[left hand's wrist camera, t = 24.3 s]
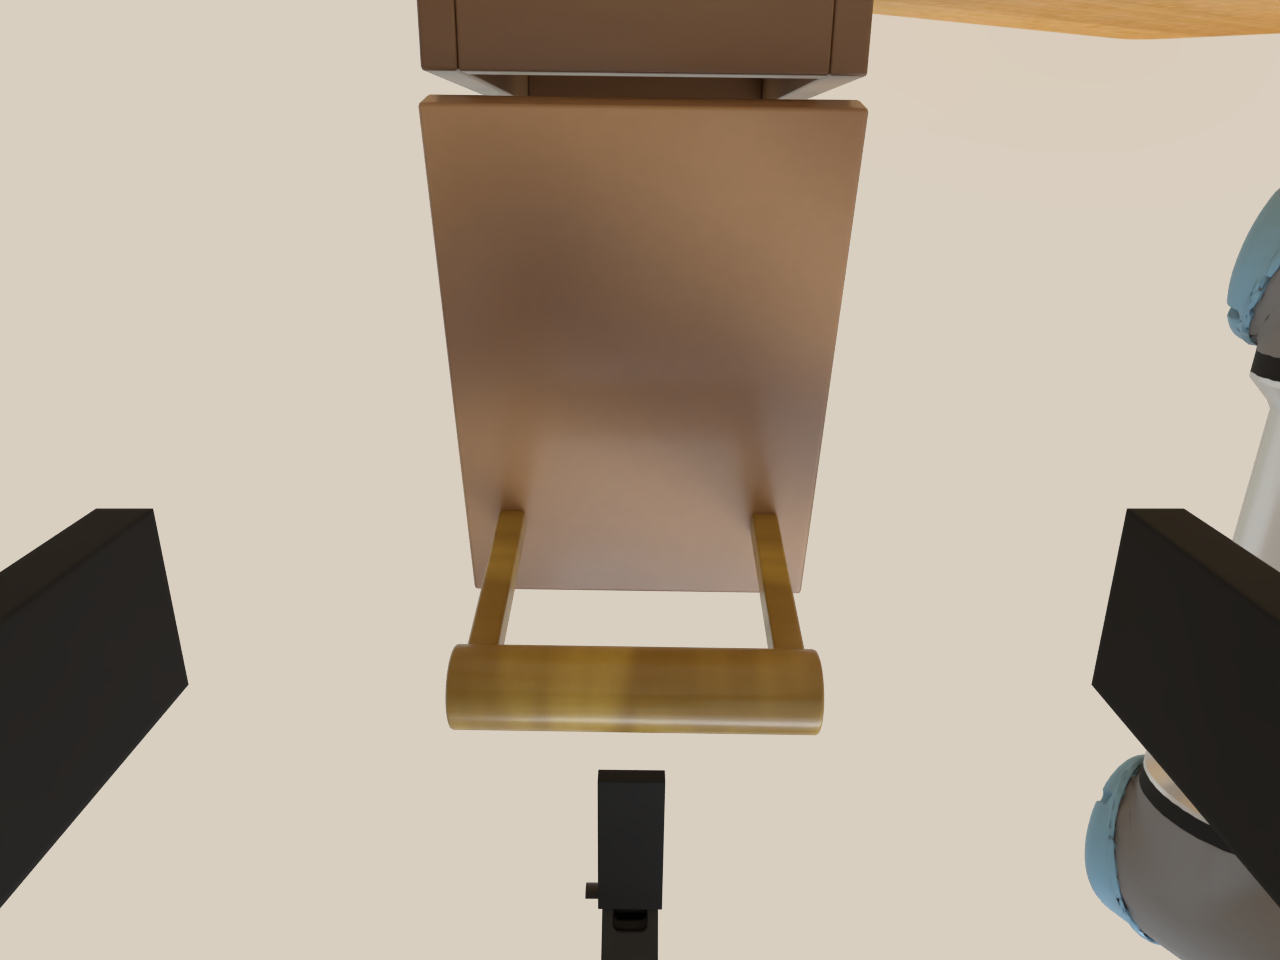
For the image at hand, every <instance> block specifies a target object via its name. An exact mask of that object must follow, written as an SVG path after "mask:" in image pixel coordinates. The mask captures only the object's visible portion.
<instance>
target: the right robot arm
mask: <svg viewBox="0 0 1280 960" xmlns="http://www.w3.org/2000/svg"><path fill="white" fill-rule="evenodd" d="M1227 304H1228V305H1229V306H1230V307H1231V308H1230V310H1229V312H1228V315H1227V317H1228V322H1229V325H1230V328H1231V330H1232V331H1233V333H1234V334H1235V335H1236V336H1238V337H1239V338H1241V339H1243V340H1244V341H1245V342H1246V343H1248V344H1251V345H1257V348H1256V353H1255V357H1254V360H1253V364H1252V368H1251V371H1250V375H1249V376H1250V378H1251V379H1252V380H1253V382H1254V383H1255V384H1256V386H1257V387H1258V388H1259V390H1260V391H1261V392H1262V394H1263V395H1264V396H1265V398H1266V399H1267V401H1268V404H1269V406H1270V410H1269V414H1268V417H1267V421H1266V424H1265V428H1264V431H1263V435H1262V438H1261V442H1260V445H1259V449H1258V452H1257V456H1256V459H1255V463H1254V466H1253V470H1252V473H1251V477H1250V480H1249V484H1248V487H1247V491H1246V494H1245V498H1244V501H1243V505H1242V508H1241V512H1240V515H1239V519H1238V522H1237V526H1236V529H1235V533H1234V536H1233V540H1232V541H1233V542H1235V543H1236V544H1238V545H1240V546H1241V547H1243V548H1244V549H1246V550H1247V551H1249V552H1250V553H1252V554H1253V555H1255V556H1256V557H1258V558H1259V559H1261V560H1262V561H1264V562H1265V563H1267V564H1268V565H1270V566H1271V567H1273V568H1274V569H1276V570H1277V571H1279V572H1280V189H1278V190H1277V191H1276V192H1275V193H1274V194H1273V196H1272V197H1271V198H1270V200H1269V201H1268V202H1267V204H1266V205H1265V207H1264V208H1263V209H1262V211H1261V212H1260V214H1259V215H1258V217H1257V219H1256V220H1255V222H1254V224H1253V226H1252V227H1251V229H1250V231H1249V233H1248V235H1247V237H1246V239H1245V241H1244V243H1243V245H1242V248H1241V250H1240V253H1239V255H1238V258H1237V260H1236V263H1235V266H1234V269H1233V272H1232V276H1231V279H1230V284H1229V290H1228V297H1227ZM664 805H665V771H663V770H599V771H598V883H586V899H598V909H602V953H601V960H658V909H662V881H663V844H664ZM1085 865H1086V871H1087V875H1088V879H1089V881H1090V884H1091V886H1092V889H1093V890H1094V892H1095V894H1096V895H1097V896H1098V898H1099V899H1100V900H1101V901H1102V902H1103V903H1104V904H1105V905H1106V906H1107V907H1108V908H1109V909H1110V910H1112V911H1113V912H1114V913H1116V914H1117V915H1118V916H1120V917H1121V918H1122V919H1124V920H1125V921H1126V922H1128V923H1129V924H1130V926H1131V927H1132V928H1133V929H1134V930H1135V931H1136V932H1137V933H1138V934H1139V935H1140V936H1142V937H1143V938H1145V939H1146V940H1148V941H1150V942H1152V943H1154V944H1158V945H1161V946H1163V947H1164V948H1166V949H1167V950H1168V951H1170V952H1171V953H1173V954H1174V955H1175V956H1177V957H1178V958H1180V959H1181V960H1280V908H1279V906H1278V905H1277V904H1276V903H1275V902H1274V901H1273V899H1272V898H1271V897H1270V896H1269V895H1268V893H1267V892H1266V891H1265V890H1264V889H1263V887H1262V886H1261V885H1260V884H1259V883H1258V882H1257V880H1256V879H1255V878H1254V877H1253V876H1252V874H1251V873H1250V872H1249V871H1248V870H1247V868H1246V867H1245V866H1244V865H1243V864H1242V863H1241V861H1240V860H1239V859H1238V858H1237V857H1236V855H1235V854H1234V853H1233V852H1232V851H1231V850H1230V848H1229V847H1228V846H1227V845H1226V844H1225V842H1224V841H1223V840H1222V839H1221V838H1220V836H1219V835H1218V834H1217V833H1216V832H1215V831H1214V829H1213V828H1212V827H1211V826H1210V825H1209V823H1208V822H1207V821H1206V820H1205V819H1204V817H1203V816H1202V815H1201V814H1200V813H1199V812H1198V810H1197V809H1196V808H1195V807H1194V806H1193V804H1192V803H1191V802H1190V801H1189V800H1188V798H1187V797H1186V796H1185V795H1184V794H1183V793H1182V791H1181V790H1180V789H1179V788H1178V787H1177V785H1176V784H1175V783H1174V782H1173V781H1172V779H1171V778H1170V777H1169V776H1168V775H1167V774H1166V772H1165V771H1164V770H1163V769H1162V768H1161V766H1160V765H1159V764H1158V763H1157V762H1156V760H1155V759H1154V758H1153V757H1152V756H1151V755H1150V753H1149V752H1148V751H1146V753H1145V755H1138V756H1135V757H1132V758H1130V759H1128V760H1127V761H1125V762H1124V763H1123V764H1122V765H1120V766H1119V767H1118V768H1117V769H1116V771H1115V772H1114V773H1113V774H1112V775H1111V776H1110V778H1109V780H1108V781H1107V782H1106V784H1105V786H1104V788H1103V797H1102V799H1101V800H1100V801H1097V802H1096V803H1095V806H1094V808H1093V811H1092V814H1091V817H1090V821H1089V825H1088V829H1087V834H1086V842H1085Z"/></svg>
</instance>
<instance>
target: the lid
mask: <svg viewBox="0 0 1280 960" xmlns="http://www.w3.org/2000/svg"><path fill="white" fill-rule="evenodd" d="M419 114H420V123H421V131H422V140H423V148H424V157H425V165H426V174H427V182H428V191H429V200H430V208H431V217H432V225H433V234H434V242H435V251H436V259H437V268H438V276H439V285H440V293H441V301H442V310H443V318H444V327H445V336H446V344H447V353H448V361H449V370H450V378H451V387H452V395H453V404H454V412H455V420H456V429H457V438H458V446H459V455H460V463H461V472H462V480H463V489H464V497H465V506H466V514H467V523H468V531H469V539H470V548H471V557H472V565H473V574H474V582H475V587H476V588H481V592H480V596H479V600H478V604H477V608H476V612H475V617H474V621H473V625H472V629H471V633H470V637H469V641H468V644H458V645H456V646H455V647H454V649H453V651H452V654H451V657H450V661H449V665H448V671H447V680H446V714H447V719H448V723H449V726H450V728H451V729H454V730H510V731H576V732H642V733H708V734H775V735H817V734H818V733H819V732H820V729H821V726H822V721H823V713H824V683H823V673H822V667H821V662H820V659H819V656H818V654H817V652H816V651H815V650H813V649H804V646H803V641H802V636H801V631H800V626H799V621H798V616H797V611H796V606H795V601H794V596H793V593H799V592H800V590H801V584H802V577H803V570H804V563H805V556H806V549H807V542H808V535H809V528H810V521H811V513H812V507H813V499H814V492H815V485H816V478H817V471H818V464H819V457H820V450H821V443H822V436H823V429H824V421H825V414H826V407H827V400H828V393H829V386H830V379H831V372H832V365H833V358H834V351H835V344H836V336H837V329H838V322H839V315H840V308H841V301H842V294H843V287H844V280H845V273H846V266H847V258H848V251H849V244H850V237H851V230H852V223H853V216H854V209H855V202H856V194H857V187H858V180H859V173H860V166H861V159H862V152H863V145H864V138H865V131H866V124H867V117H868V110H867V108H866V107H865V106H864V105H863V104H862V103H861V102H860V101H858V100H804V99H727V98H649V97H572V96H495V95H428V96H427V97H426V98H425V99H424V100H422V101H421V102H420V103H419ZM515 589H559V590H628V591H696V592H760V598H761V605H762V611H763V618H764V624H765V631H766V637H767V644H768V649H758V648H691V647H689V648H688V647H623V646H622V647H621V646H556V645H555V646H554V645H504V641H505V636H506V631H507V626H508V620H509V615H510V610H511V605H512V600H513V595H514V590H515Z"/></svg>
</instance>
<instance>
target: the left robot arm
mask: <svg viewBox="0 0 1280 960" xmlns="http://www.w3.org/2000/svg"><path fill="white" fill-rule="evenodd" d="M187 686H188V680H187V675H186V670H185V665H184V660H183V655H182V651H181V646H180V640H179V635H178V631H177V626H176V621H175V616H174V611H173V606H172V601H171V596H170V591H169V586H168V581H167V576H166V571H165V566H164V561H163V556H162V551H161V546H160V541H159V536H158V531H157V526H156V521H155V516H154V511H153V509H95V510H93V511H92V512H90V513H89V514H87V515H86V516H84V517H83V518H81V519H80V520H78V521H77V522H75V523H74V524H72V525H71V526H69V527H68V528H66V529H65V530H63V531H62V532H60V533H59V534H57V535H56V536H54V537H53V538H51V539H50V540H48V541H47V542H45V543H44V544H42V545H40V546H39V547H37V548H36V549H35V550H33V551H31V552H30V553H28V554H27V555H25V556H24V557H22V558H21V559H19V560H18V561H16V562H15V563H13V564H12V565H10V566H9V567H7V568H6V569H4V570H3V571H1V572H0V908H1V906H2V905H3V904H4V903H5V902H6V901H7V899H8V898H9V897H10V896H11V895H12V893H13V892H14V891H15V890H16V889H17V887H18V886H19V885H20V884H21V883H22V882H23V880H24V879H25V878H26V877H27V876H28V874H29V873H30V872H31V871H32V870H33V868H34V867H35V866H36V865H37V864H38V863H39V861H40V860H41V859H42V858H43V857H44V855H45V854H46V853H47V852H48V851H49V849H50V848H51V847H52V846H53V845H54V844H55V842H56V841H57V840H58V839H59V838H60V836H61V835H62V834H63V833H64V832H65V831H66V829H67V828H68V827H69V826H70V825H71V823H72V822H73V821H74V820H75V819H76V817H77V816H78V815H79V814H80V813H81V811H82V810H83V809H84V808H85V807H86V806H87V804H88V803H89V802H90V801H91V800H92V798H93V797H94V796H95V795H96V794H97V793H98V791H99V790H100V789H101V788H102V787H103V785H104V784H105V783H106V782H107V781H108V779H109V778H110V777H111V776H112V775H113V774H114V772H115V771H116V770H117V769H118V768H119V766H120V765H121V764H122V763H123V762H124V760H125V759H126V758H127V757H128V756H129V755H130V753H131V752H132V751H133V750H134V749H135V747H136V746H137V745H138V744H139V743H140V741H141V740H142V739H143V738H144V737H145V735H146V734H147V733H148V732H149V731H150V730H151V728H152V727H153V726H154V725H155V724H156V722H157V721H158V720H159V719H160V718H161V717H162V715H163V714H164V713H165V712H166V711H167V709H168V708H169V707H170V706H171V705H172V703H173V702H174V701H175V700H176V699H177V697H178V696H179V695H180V694H181V693H182V692H183V690H184V689H185V688H186V687H187ZM1092 686H1093V687H1094V688H1095V689H1096V690H1097V692H1098V693H1099V694H1100V695H1101V696H1102V698H1103V699H1104V700H1105V701H1106V702H1107V703H1108V705H1109V706H1110V707H1111V708H1112V709H1113V711H1114V712H1115V713H1116V714H1117V715H1118V716H1119V718H1120V719H1121V720H1122V721H1123V722H1124V724H1125V725H1126V726H1127V727H1128V728H1129V730H1130V731H1131V732H1132V733H1133V734H1134V736H1135V737H1136V738H1137V739H1138V740H1139V741H1140V743H1141V744H1142V745H1143V746H1144V747H1145V749H1146V750H1147V751H1148V752H1149V753H1150V755H1151V756H1152V757H1153V758H1154V759H1155V760H1156V762H1157V763H1158V764H1159V765H1160V766H1161V768H1162V769H1163V770H1164V771H1165V772H1166V774H1167V775H1168V776H1169V777H1170V778H1171V779H1172V781H1173V782H1174V783H1175V784H1176V785H1177V787H1178V788H1179V789H1180V790H1181V791H1182V793H1183V794H1184V795H1185V796H1186V797H1187V798H1188V800H1189V801H1190V802H1191V803H1192V804H1193V806H1194V807H1195V808H1196V809H1197V810H1198V812H1199V813H1200V814H1201V815H1202V816H1203V817H1204V819H1205V820H1206V821H1207V822H1208V823H1209V825H1210V826H1211V827H1212V828H1213V829H1214V831H1215V832H1216V833H1217V834H1218V835H1219V836H1220V838H1221V839H1222V840H1223V841H1224V842H1225V844H1226V845H1227V846H1228V847H1229V848H1230V850H1231V851H1232V852H1233V853H1234V854H1235V855H1236V857H1237V858H1238V859H1239V860H1240V861H1241V863H1242V864H1243V865H1244V866H1245V867H1246V868H1247V870H1248V871H1249V872H1250V873H1251V874H1252V876H1253V877H1254V878H1255V879H1256V880H1257V882H1258V883H1259V884H1260V885H1261V886H1262V887H1263V889H1264V890H1265V891H1266V892H1267V893H1268V895H1269V896H1270V897H1271V898H1272V899H1273V901H1274V902H1275V903H1276V904H1277V905H1278V906H1279V908H1280V572H1279V571H1277V570H1276V569H1274V568H1273V567H1271V566H1270V565H1268V564H1267V563H1265V562H1264V561H1262V560H1261V559H1259V558H1258V557H1256V556H1255V555H1253V554H1252V553H1250V552H1249V551H1247V550H1246V549H1244V548H1243V547H1241V546H1240V545H1238V544H1236V543H1235V542H1233V541H1232V540H1230V539H1229V538H1227V537H1226V536H1224V535H1223V534H1221V533H1220V532H1218V531H1217V530H1215V529H1214V528H1212V527H1211V526H1209V525H1208V524H1206V523H1205V522H1203V521H1202V520H1200V519H1199V518H1197V517H1196V516H1194V515H1193V514H1191V513H1190V512H1188V511H1187V510H1185V509H1127V511H1126V516H1125V521H1124V526H1123V531H1122V536H1121V541H1120V546H1119V551H1118V556H1117V561H1116V566H1115V571H1114V576H1113V581H1112V586H1111V591H1110V596H1109V601H1108V606H1107V611H1106V616H1105V621H1104V626H1103V631H1102V636H1101V640H1100V645H1099V650H1098V655H1097V660H1096V665H1095V670H1094V675H1093V680H1092Z"/></svg>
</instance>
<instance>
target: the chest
mask: <svg viewBox="0 0 1280 960" xmlns="http://www.w3.org/2000/svg"><path fill="white" fill-rule="evenodd" d="M417 9H418V25H419V41H420V57H421V67H422V69H423V70H425V71H427V72H429V73H432V74H434V75H437V76H439V77H441V78H444V79H446V80H449V81H451V82H454V83H456V84H458V85H461V86H463V87H466V88H468V89H470V90H473V91H475V92H478V93H480V94H483V95H495V96H572V97H649V98H727V99H804V100H806V99H808V98H811V97H813V96H816V95H818V94H821V93H823V92H826V91H828V90H831V89H833V88H836V87H838V86H841V85H843V84H846V83H848V82H851V81H853V80H856V79H859V78H861V77H864V76H866V74H867V67H868V56H869V45H870V33H871V22H872V11H873V0H417Z"/></svg>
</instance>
